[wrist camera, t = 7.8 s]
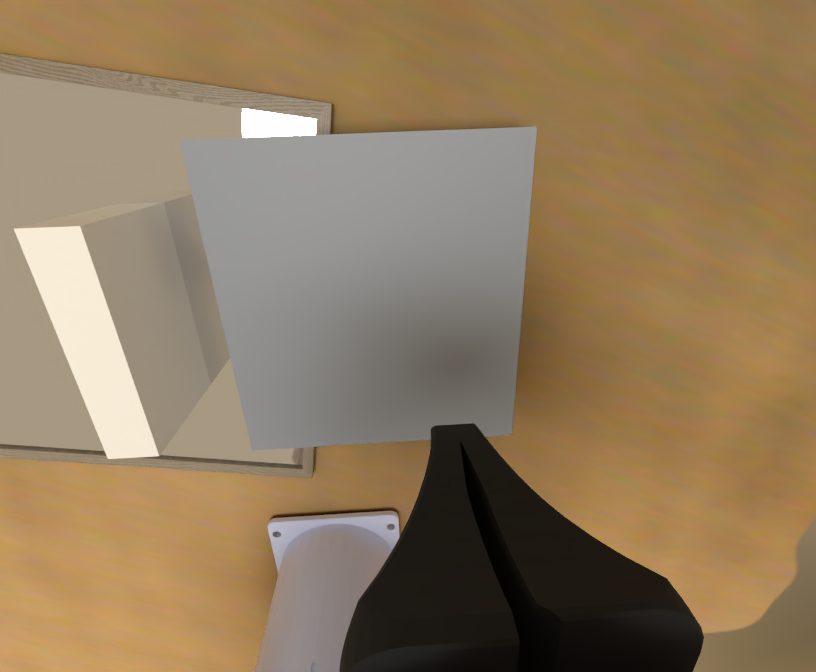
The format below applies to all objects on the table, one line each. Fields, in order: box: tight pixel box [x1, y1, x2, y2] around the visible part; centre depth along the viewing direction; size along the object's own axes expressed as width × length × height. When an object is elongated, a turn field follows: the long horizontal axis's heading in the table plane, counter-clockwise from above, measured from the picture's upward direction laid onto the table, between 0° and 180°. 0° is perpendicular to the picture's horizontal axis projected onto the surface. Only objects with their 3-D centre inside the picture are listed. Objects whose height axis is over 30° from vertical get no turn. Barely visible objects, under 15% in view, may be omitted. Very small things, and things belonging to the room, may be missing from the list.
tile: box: [14, 202, 211, 459], centre depth 18 cm, size 9×6×2 cm
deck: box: [179, 127, 537, 450], centre depth 20 cm, size 14×13×2 cm
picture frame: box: [0, 54, 333, 478], centre depth 20 cm, size 19×1×28 cm
